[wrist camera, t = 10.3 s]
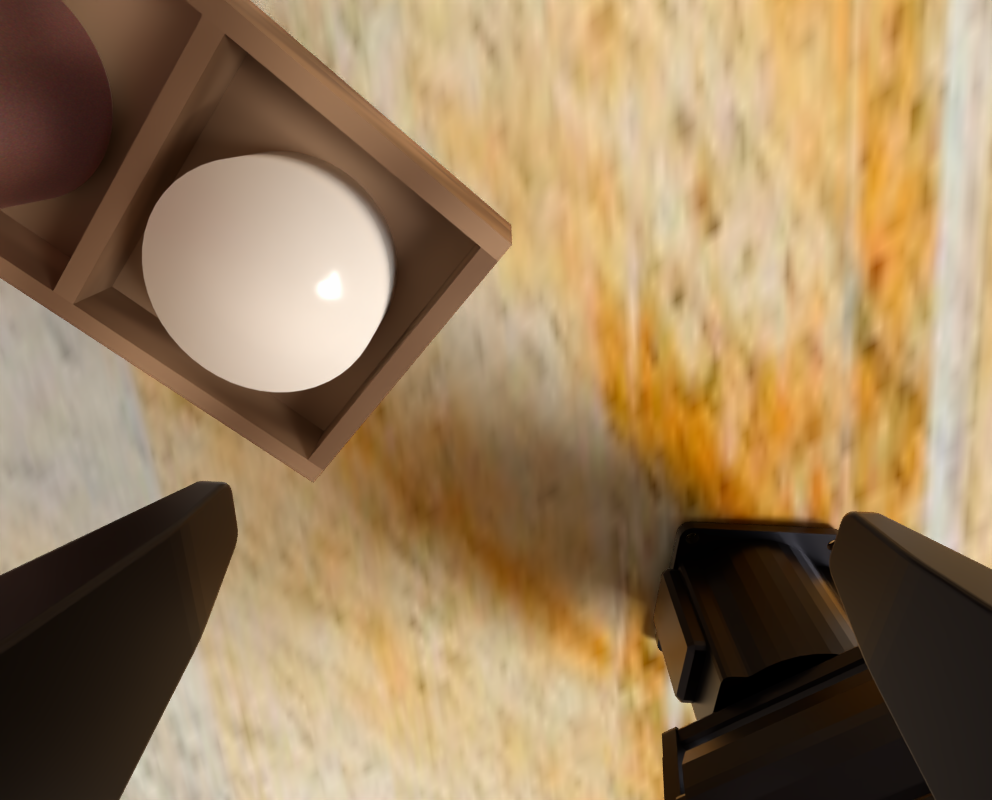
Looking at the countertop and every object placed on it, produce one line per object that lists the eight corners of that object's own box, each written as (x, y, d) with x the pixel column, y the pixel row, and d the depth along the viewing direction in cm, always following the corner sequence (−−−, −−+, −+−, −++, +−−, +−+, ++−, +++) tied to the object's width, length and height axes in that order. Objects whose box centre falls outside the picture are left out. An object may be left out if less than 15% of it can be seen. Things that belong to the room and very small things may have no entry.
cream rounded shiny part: (395, 156, 18) (377, 164, 16) (399, 362, 21) (384, 397, 18) (174, 144, 18) (119, 151, 16) (205, 352, 21) (164, 386, 18)
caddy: (511, 225, 20) (511, 244, 17) (337, 436, 24) (313, 482, 21) (-38, -248, 16) (-163, -329, 13) (-159, 97, 19) (-279, 95, 16)
